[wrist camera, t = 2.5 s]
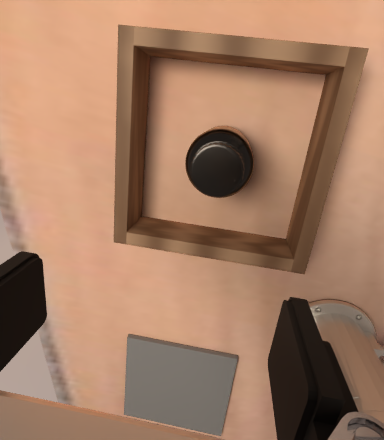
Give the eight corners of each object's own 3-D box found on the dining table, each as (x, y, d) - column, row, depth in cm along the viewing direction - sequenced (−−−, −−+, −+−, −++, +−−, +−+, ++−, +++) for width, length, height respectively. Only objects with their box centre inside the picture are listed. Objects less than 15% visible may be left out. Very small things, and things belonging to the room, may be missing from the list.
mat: (237, 355, 47) (237, 359, 47) (221, 431, 54) (220, 436, 53) (129, 333, 49) (127, 337, 48) (125, 410, 55) (124, 414, 55)
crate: (345, 59, 32) (368, 48, 26) (295, 251, 40) (304, 274, 34) (137, 39, 34) (118, 24, 28) (130, 225, 42) (113, 242, 37)
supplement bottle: (185, 146, 37) (163, 160, 26) (231, 113, 35) (228, 113, 24) (215, 190, 39) (206, 221, 28) (261, 161, 37) (271, 182, 26)
